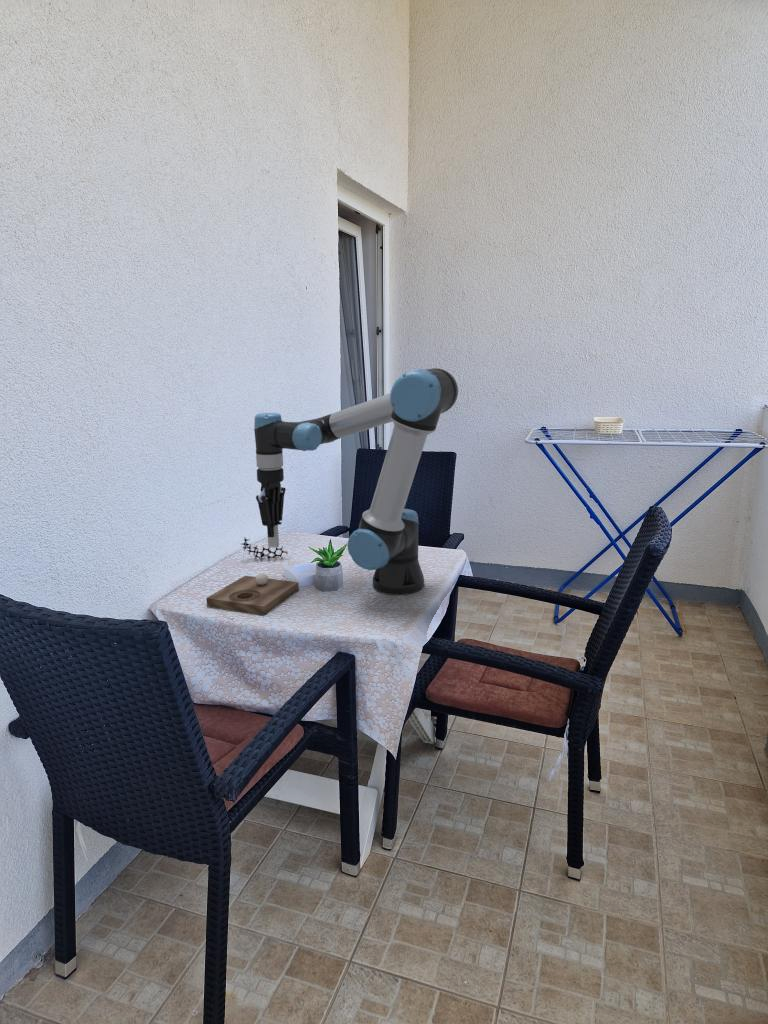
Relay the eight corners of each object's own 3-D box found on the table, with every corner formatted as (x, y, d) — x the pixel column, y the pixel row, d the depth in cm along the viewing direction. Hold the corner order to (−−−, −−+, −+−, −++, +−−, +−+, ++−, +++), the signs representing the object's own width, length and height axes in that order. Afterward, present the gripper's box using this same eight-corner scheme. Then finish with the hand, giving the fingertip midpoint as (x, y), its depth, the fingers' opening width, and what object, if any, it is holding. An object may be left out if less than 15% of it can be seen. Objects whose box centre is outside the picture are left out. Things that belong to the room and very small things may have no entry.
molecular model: (287, 561, 215) (286, 537, 213) (241, 563, 213) (240, 539, 211) (288, 555, 221) (286, 532, 219) (243, 558, 219) (241, 534, 217)
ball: (270, 583, 188) (270, 571, 187) (264, 587, 184) (263, 575, 184) (260, 581, 189) (259, 570, 188) (253, 585, 186) (252, 574, 185)
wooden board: (298, 590, 189) (298, 582, 188) (264, 615, 171) (263, 606, 171) (245, 583, 195) (244, 575, 194) (207, 606, 178) (206, 598, 177)
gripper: (270, 463, 193) (273, 539, 199) (246, 471, 181) (250, 551, 187) (292, 464, 190) (295, 541, 196) (269, 472, 179) (273, 554, 185)
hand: (273, 546), depth 192 cm, fingers closed
